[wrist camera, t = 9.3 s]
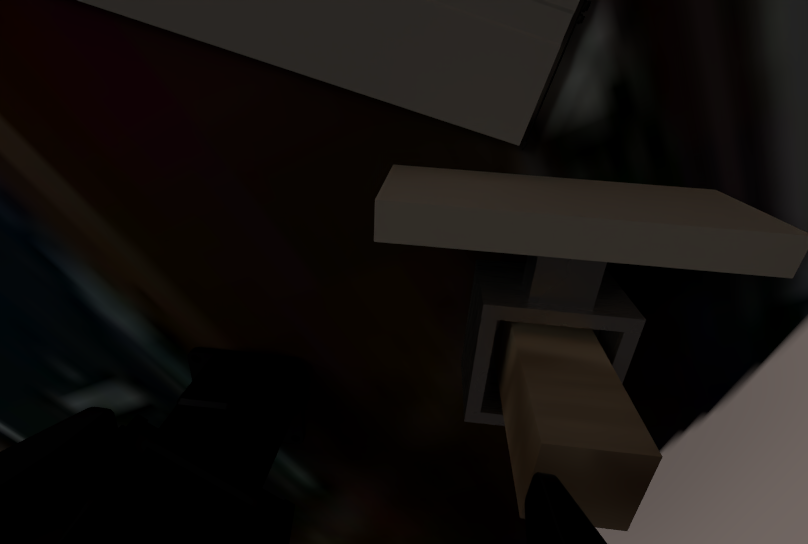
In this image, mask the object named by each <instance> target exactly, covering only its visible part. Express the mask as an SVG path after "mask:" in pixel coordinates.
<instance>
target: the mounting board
mask: <svg viewBox="0 0 808 544" xmlns="http://www.w3.org/2000/svg"><path fill="white" fill-rule="evenodd" d="M374 242H385V243H396V244H408V245H419V246H430V247H442V248H453V249H464V250H476V251H487V252H498V253H510V254H521V255H532V256H544V257H555V258H566V259H578V260H589V261H600V262H612V263H623V264H634V265H646V266H657V267H668V268H680V269H691V270H702V271H714V272H725V273H736V274H748V275H759V276H770V277H782V278H793V277H794V275H795V273H796V271H797V269H798V267H799V266H800V264H801V262H802V260H803V258H804V256H805V254H806V252H807V250H808V233H807V232H805V231H803V230H800V229H798V228H796V227H794V226H792V225H790V224H788V223H785V222H783V221H781V220H779V219H777V218H775V217H773V216H770V215H768V214H766V213H764V212H762V211H760V210H758V209H755V208H753V207H751V206H749V205H747V204H745V203H743V202H740V201H738V200H736V199H734V198H732V197H730V196H728V195H725V194H723V193H721V192H719V191H717V190H711V189H698V188H685V187H672V186H660V185H647V184H634V183H621V182H609V181H596V180H583V179H570V178H558V177H545V176H532V175H519V174H507V173H494V172H481V171H468V170H455V169H443V168H430V167H417V166H404V165H393V166H392V168H391V170H390V172H389V174H388V176H387V178H386V180H385V182H384V184H383V186H382V187H381V189H380V191H379V193H378V195H377V197H376V199H375V221H374Z"/></svg>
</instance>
